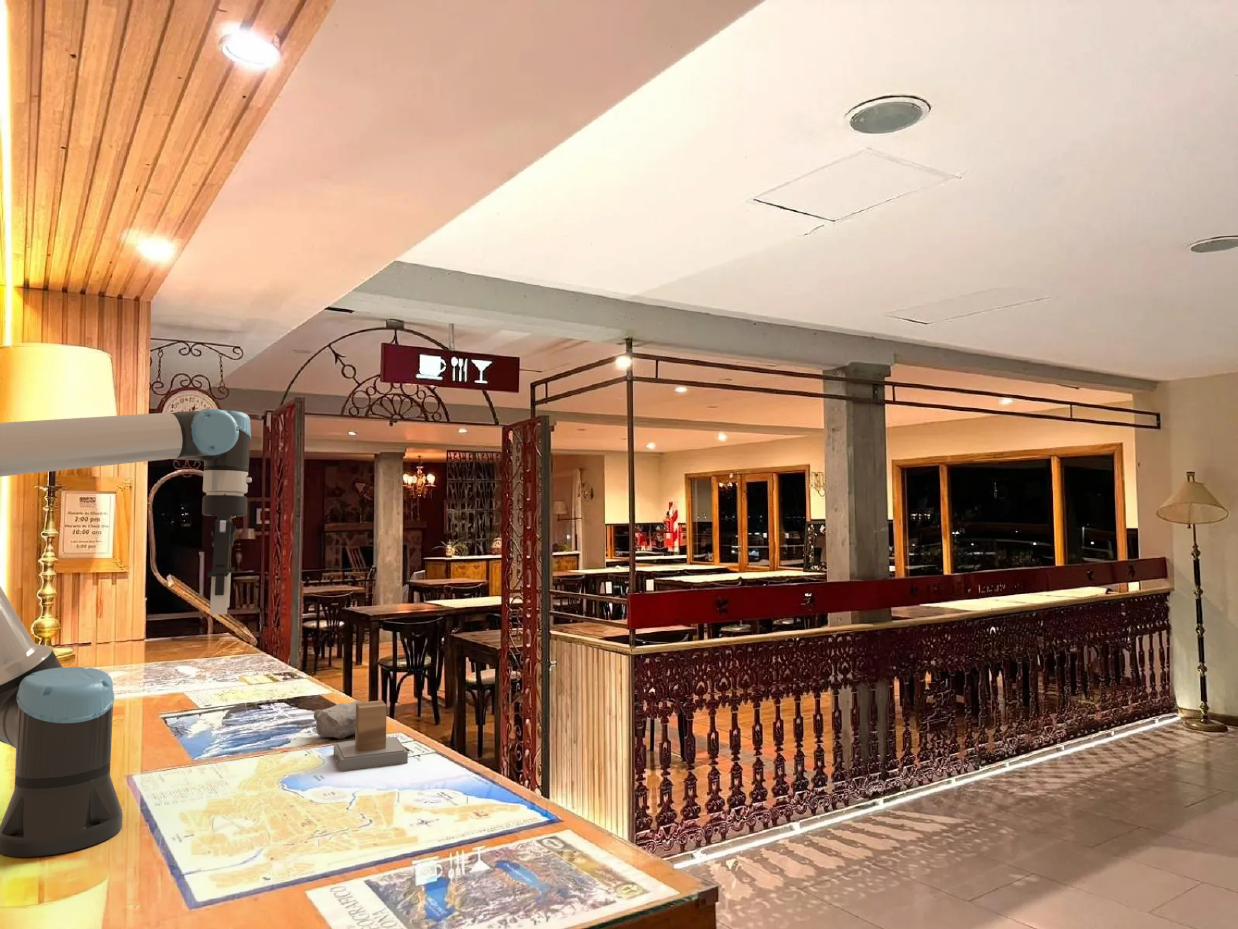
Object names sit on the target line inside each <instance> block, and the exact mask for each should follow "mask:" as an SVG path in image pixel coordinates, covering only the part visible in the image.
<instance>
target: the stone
mask: <svg viewBox="0 0 1238 929" xmlns="http://www.w3.org/2000/svg"><path fill="white" fill-rule="evenodd" d="M359 702H362V701H361V700H358V699H356V700H355V701H353V702H350V703H337V704H335V705H334V706H331V707H327V708H324V709H316V710H314V712H313V719H314V720H315V721H316V722H315V724H316V727H315V729H316V734H317V735H318V736H320V737H323V738H336V739H338V740H339V739H341V740H342V739H345V737H346V738H347V737H349V736H352V735H355V727H356V703H359Z"/></svg>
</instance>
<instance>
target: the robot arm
mask: <svg viewBox="0 0 1238 929" xmlns="http://www.w3.org/2000/svg"><path fill="white" fill-rule="evenodd" d="M251 427H252V426H251V418H250V416H249V415H248V414H247V413H245V412H243V411H236V410H226V409H224V410H223V409H219V408H204V409H201V410H189V411H188V410H187V411H175V412H159V413H157V412H156V413H140V414H139V413H138V414H125V415H109V416H108V415H107V416H106V415H105V416H92V417H91V416H89V417H75V418H74V417H73V418H55V419H41V420H25V421H24V420H23V421H11V422H10V421H9V422H7V421H6V422H5V421H4V422H0V477H9V476H19V475H28V474H37V473H48V472H59V471H66V470H67V471H68V470H76V469H78V470H79V469H87V468H94V467H96V468H97V467H106V466H107V467H108V466H113V465H124V464H125V465H126V464H133V463H142V462H144V463H145V462H153V461H164V460H169V459H170V460H182V461H183V460H185V461H199V462H203V463H204V464H203V465H204V466H203V479H202V480H203V482H202V492H203V493H205V495H204V496H203V497H202V504H201V505H202V506H201V510H202V511H201V514H202V515H203V516H205V517H206V516H207V517H209V516H210V517H216V520H215V521H214V525H211V537H212V538H211V539H212V540H211V546H212V547H213V554H212V555H213V556H212V568H211V570H210V571H207V578H211V580H210V582H211V585H210V604H209V615H213V616H214V615H227V614H228V608H230V600H231V599H230V596H231V579H232V578H231V576H232V573H235V566H232V561H231V560H232V548H233V547H234V544H235V536H236V531H237V528H236V527H237V526H235V525H234V523H233V521H232V517H246V516H247V514H248V497H247V496H245V494H247V493H248V491H249V490H248V488H249V485H248V483H252V481H253V480H252V477H251V476H250V477H248V476H249V470H250V469H249V467H250V466H249V465H250V448H251V440H252V432H251V431H252V430H251ZM113 684H114V683H113V680H112V677H111V676H110V675H109V673H107V672H105V671H104V670H101V669H98V668H93V667H86V668H85V667H83V666H82V667H81V666H64V667H63V665H62V663H61V662H60V661H59V658H58V657H57V655H56V654H55V652H54V650H53V648H52V647H51V646H50V645H49V646H48V645H45V644H38V643H36V642H35V641H34V639H32V636H31V634H30V633H29V631H28V629H27V628H26V627H25V625H24V623H23V622H22V620H21V618H20V617H19V615H18V613H17V611H16V610H15V608H14V606H13V605H12V603H11V601H10V600H9V599H8V597H7V595H6V593H5V592H4V590H3V588H2V587H1V586H0V743H3V744H5V745H9V746H11V747H13V748H14V749H15V767H14V768H15V769H14V770H15V771H14V775H15V776H14V787H13V789H14V790H13V793H12V794H11V795H12V796H11V797H10V801H9V803H8V804H7V805H8V806H7V807H6V810H5V813H4V815H3V817H2V820H1V822H0V854H2V855H3V856H8V857H14V858H33V857H35V858H36V857H44V856H53V855H59V854H64V853H69V852H73V851H78V850H81V849H85V848H88V847H91V846H94V845H97V844H100V843H102V842H105V841H106V840H109V839H111V838H113V837H114V836H116V835H117V834H118V833H119V832H120V831H121V830H122V828H123V809H122V807H121V804H120V800H119V797H118V795H117V792H116V788H115V786H114V783H113V780H112V777H111V776H112V775H111V763H112V762H111V761H112V742H113V741H112V739H113V737H112V736H113V735H112V734H113V733H112V732H113V716H114V715H113V714H114V713H113V712H114V703H115V692H114V687H113V686H114V685H113Z"/></svg>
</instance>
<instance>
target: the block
mask: <svg viewBox="0 0 1238 929" xmlns="http://www.w3.org/2000/svg"><path fill="white" fill-rule="evenodd" d="M387 710H388V709H387V704H386V703H385V701H384V700H383V699H382V700H371V701H361V702H359V703H356V727H355V734H354V736H355V738H354V741H355V745H356V747H357V749H358V751H366V750H375V749H383V748H386V738H387Z"/></svg>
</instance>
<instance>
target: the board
mask: <svg viewBox="0 0 1238 929" xmlns="http://www.w3.org/2000/svg"><path fill="white" fill-rule="evenodd" d="M408 754H409V753H408V751H407V749H406V747H405V746H404V745H403V744H402V742H401V741H400V740H399V739H398V737H397V736H390V737H387V736H386V748H383V749H375V750H366V751H358V749H357V747H356V745H355V740H353V741H352V740H350V741H344V742H343V741H342V742H337V743H333V756H334V758H336V759H335V761H336V760H337V761H336V763H337V762H338V763H337V765H338V764H339V766H338V768H339V767H340V768H339V770H340V769H341V770H346V771H352V770H353V769H354V770H360V768H362V769H368V768H367V767H370V768H378V767H385V766H393V765H401V764H408V763H409V762H408V760H409V759H408V758H409V755H408ZM341 770H340V771H341ZM354 770H353V771H354Z"/></svg>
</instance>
